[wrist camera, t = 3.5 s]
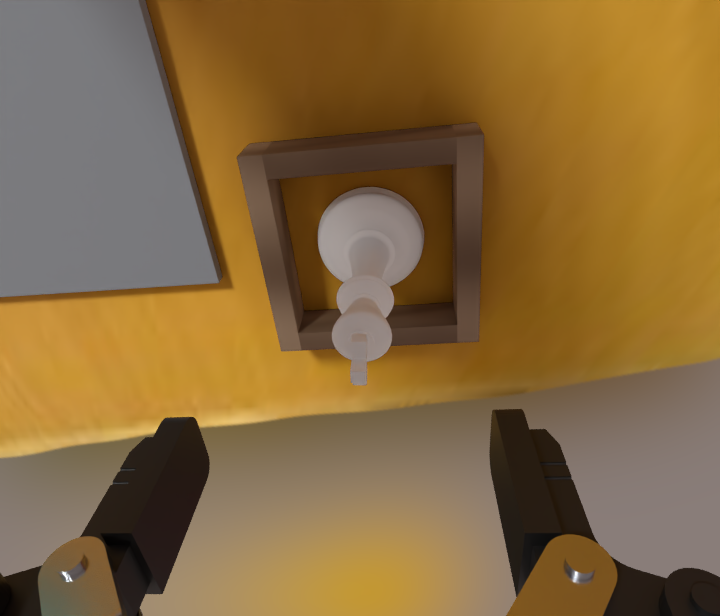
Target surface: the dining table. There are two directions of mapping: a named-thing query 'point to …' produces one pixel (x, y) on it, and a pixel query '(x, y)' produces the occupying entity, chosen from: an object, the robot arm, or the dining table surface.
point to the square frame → (359, 155)
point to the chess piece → (368, 267)
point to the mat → (93, 155)
